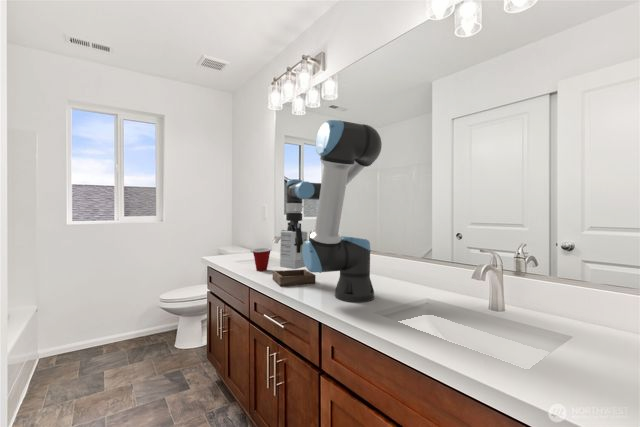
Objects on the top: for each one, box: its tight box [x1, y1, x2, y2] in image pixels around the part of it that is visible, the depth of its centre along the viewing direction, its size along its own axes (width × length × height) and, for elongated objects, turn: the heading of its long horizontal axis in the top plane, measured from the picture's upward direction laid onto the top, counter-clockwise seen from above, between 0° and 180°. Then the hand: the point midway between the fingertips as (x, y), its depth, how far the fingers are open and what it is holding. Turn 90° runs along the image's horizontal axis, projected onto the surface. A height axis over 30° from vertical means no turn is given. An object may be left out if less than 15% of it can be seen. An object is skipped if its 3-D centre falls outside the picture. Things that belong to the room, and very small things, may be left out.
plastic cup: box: [251, 247, 272, 272], centre depth 172 cm, size 11×11×12 cm
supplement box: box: [279, 230, 308, 270], centre depth 144 cm, size 10×9×17 cm
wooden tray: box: [272, 268, 316, 288], centre depth 144 cm, size 15×16×4 cm
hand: (293, 257), depth 144 cm, fingers closed on supplement box, 12 cm apart
